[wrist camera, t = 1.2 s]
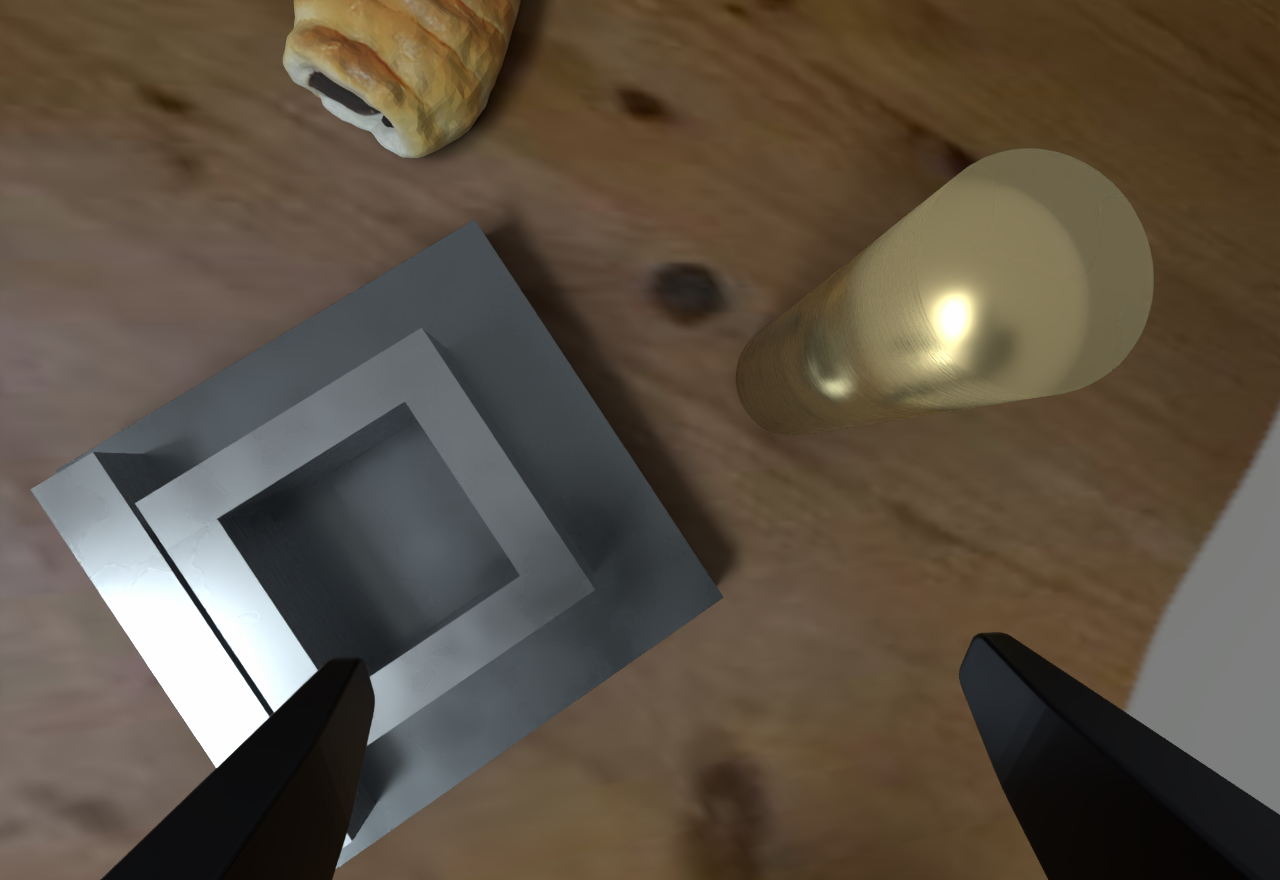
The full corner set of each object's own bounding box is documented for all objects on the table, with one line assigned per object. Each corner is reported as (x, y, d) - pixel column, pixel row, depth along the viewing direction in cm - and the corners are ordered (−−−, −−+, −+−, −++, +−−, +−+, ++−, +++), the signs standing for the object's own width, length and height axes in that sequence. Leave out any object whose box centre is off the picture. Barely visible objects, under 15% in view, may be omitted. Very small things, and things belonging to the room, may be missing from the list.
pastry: (419, -100, 23) (387, -210, 20) (570, -6, 24) (567, -96, 20) (287, 96, 23) (227, 22, 19) (445, 191, 23) (418, 136, 19)
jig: (714, 588, 23) (745, 618, 18) (344, 847, 21) (279, 948, 17) (481, 235, 23) (455, 178, 18) (93, 470, 21) (-40, 470, 17)
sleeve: (866, 396, 24) (1198, 309, 11) (776, 457, 23) (1010, 444, 10) (805, 302, 24) (1065, 103, 11) (714, 362, 23) (870, 230, 10)
